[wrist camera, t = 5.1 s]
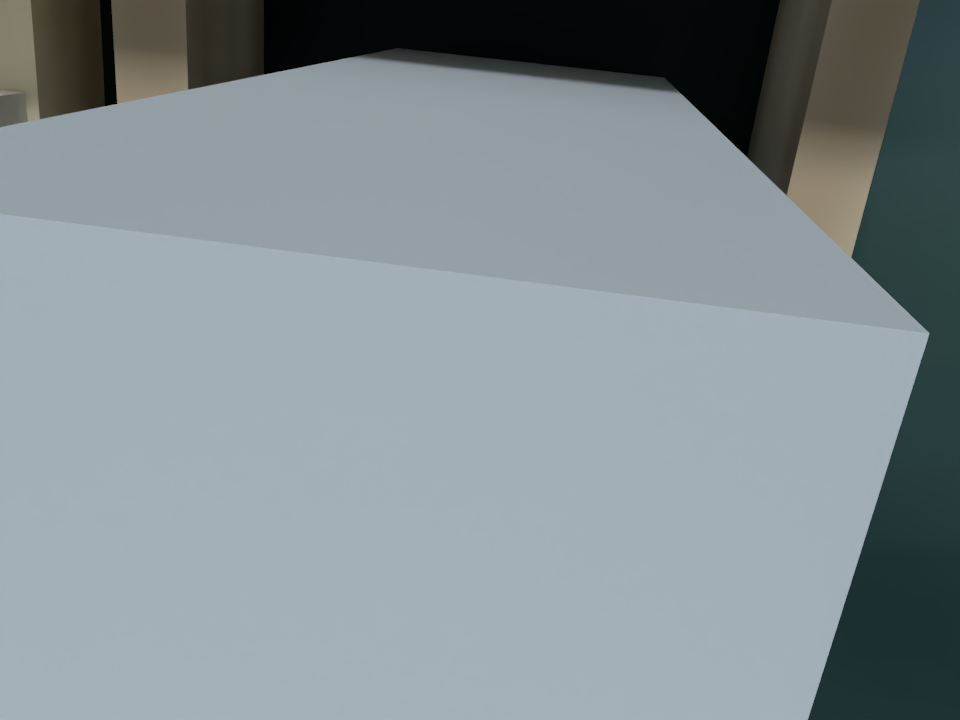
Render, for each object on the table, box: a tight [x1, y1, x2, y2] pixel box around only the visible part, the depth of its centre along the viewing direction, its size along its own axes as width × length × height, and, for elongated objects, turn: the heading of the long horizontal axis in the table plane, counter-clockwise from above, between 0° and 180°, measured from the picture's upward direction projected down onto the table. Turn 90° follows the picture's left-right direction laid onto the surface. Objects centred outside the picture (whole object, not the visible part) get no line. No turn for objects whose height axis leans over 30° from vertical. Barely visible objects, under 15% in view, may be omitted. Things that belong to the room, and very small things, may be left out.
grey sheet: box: [0, 48, 929, 720], centre depth 11 cm, size 4×14×11 cm, turn 174°
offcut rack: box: [111, 0, 920, 257], centre depth 14 cm, size 20×21×6 cm
